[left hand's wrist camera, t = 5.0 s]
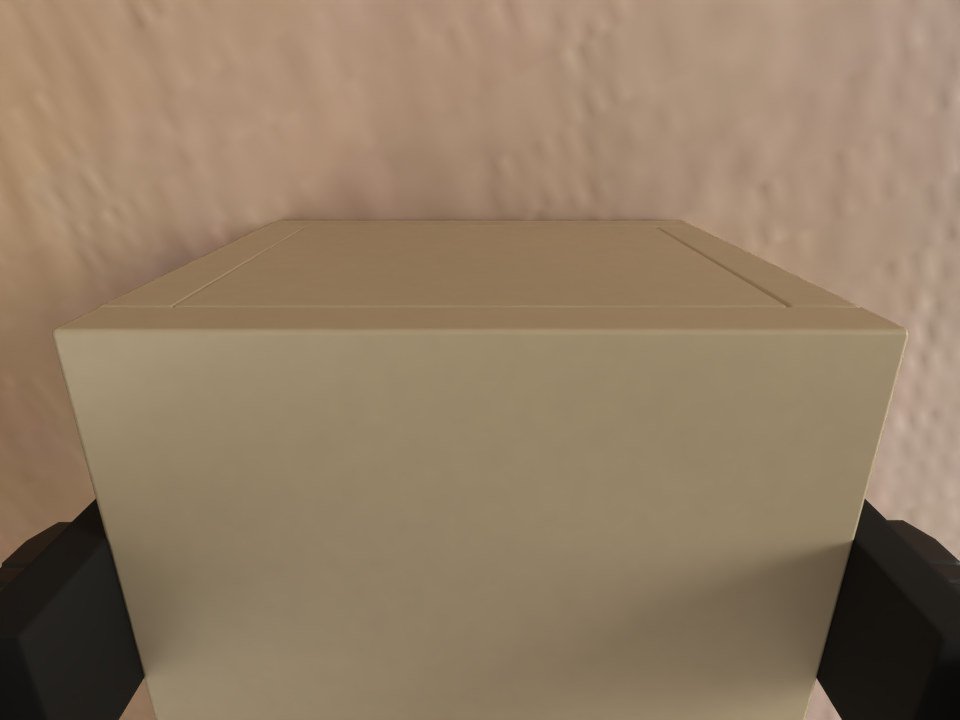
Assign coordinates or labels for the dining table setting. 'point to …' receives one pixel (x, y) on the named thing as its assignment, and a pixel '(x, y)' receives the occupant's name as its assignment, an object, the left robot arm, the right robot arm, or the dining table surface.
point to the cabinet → (480, 471)
